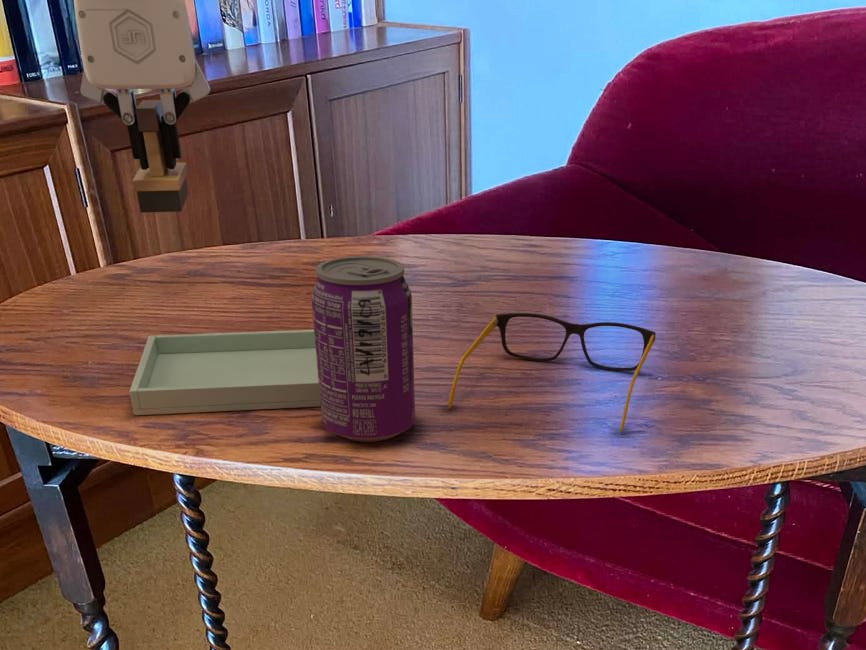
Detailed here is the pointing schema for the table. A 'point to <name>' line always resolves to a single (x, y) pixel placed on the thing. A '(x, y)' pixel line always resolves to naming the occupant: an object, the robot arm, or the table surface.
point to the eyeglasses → (570, 329)
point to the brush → (158, 167)
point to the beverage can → (364, 347)
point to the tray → (226, 372)
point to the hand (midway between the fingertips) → (159, 165)
